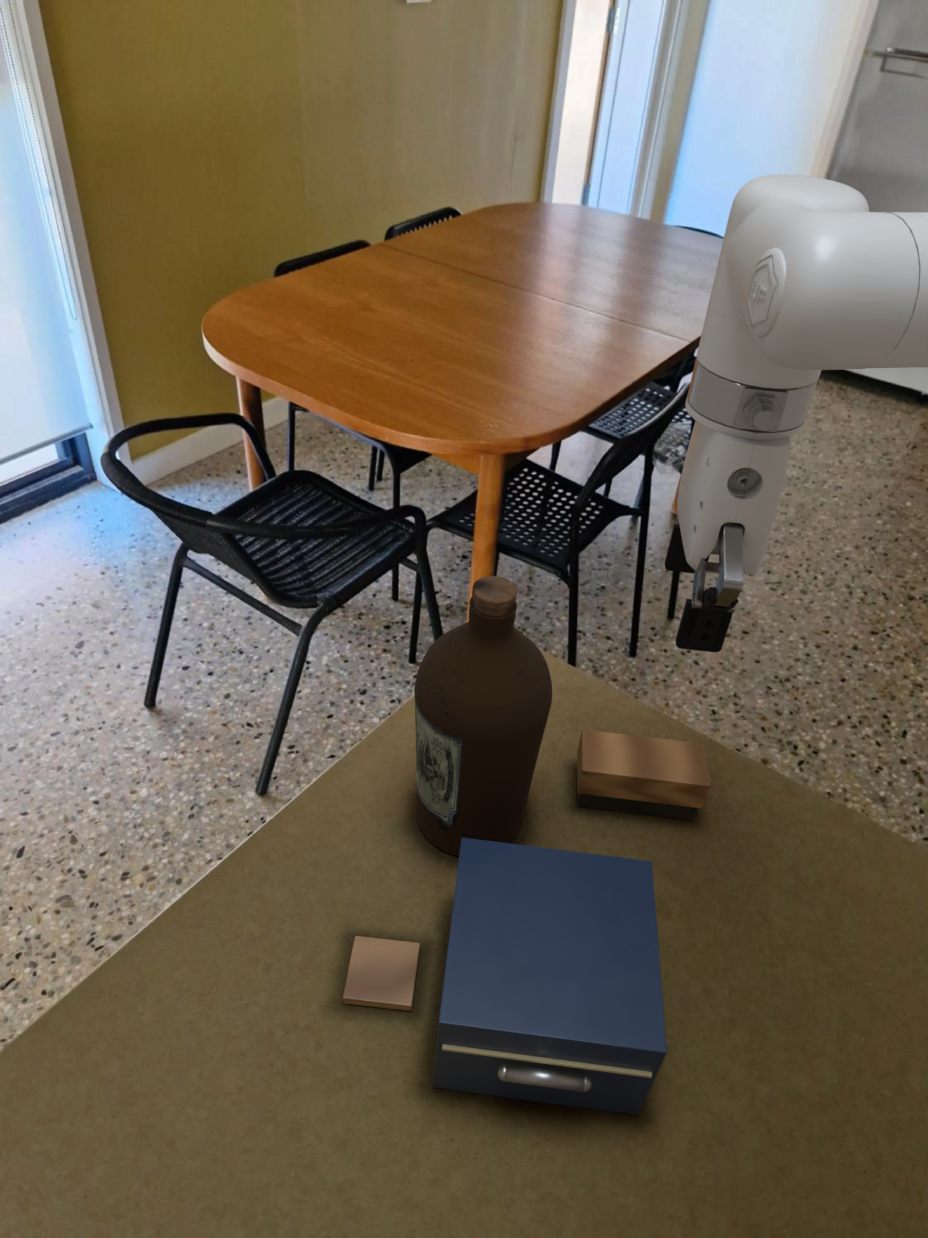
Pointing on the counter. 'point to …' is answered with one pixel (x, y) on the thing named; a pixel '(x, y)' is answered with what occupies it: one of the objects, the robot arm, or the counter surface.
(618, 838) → the counter surface
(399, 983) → the coaster
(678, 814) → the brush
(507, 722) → the olive oil
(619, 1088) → the blue drawer box
